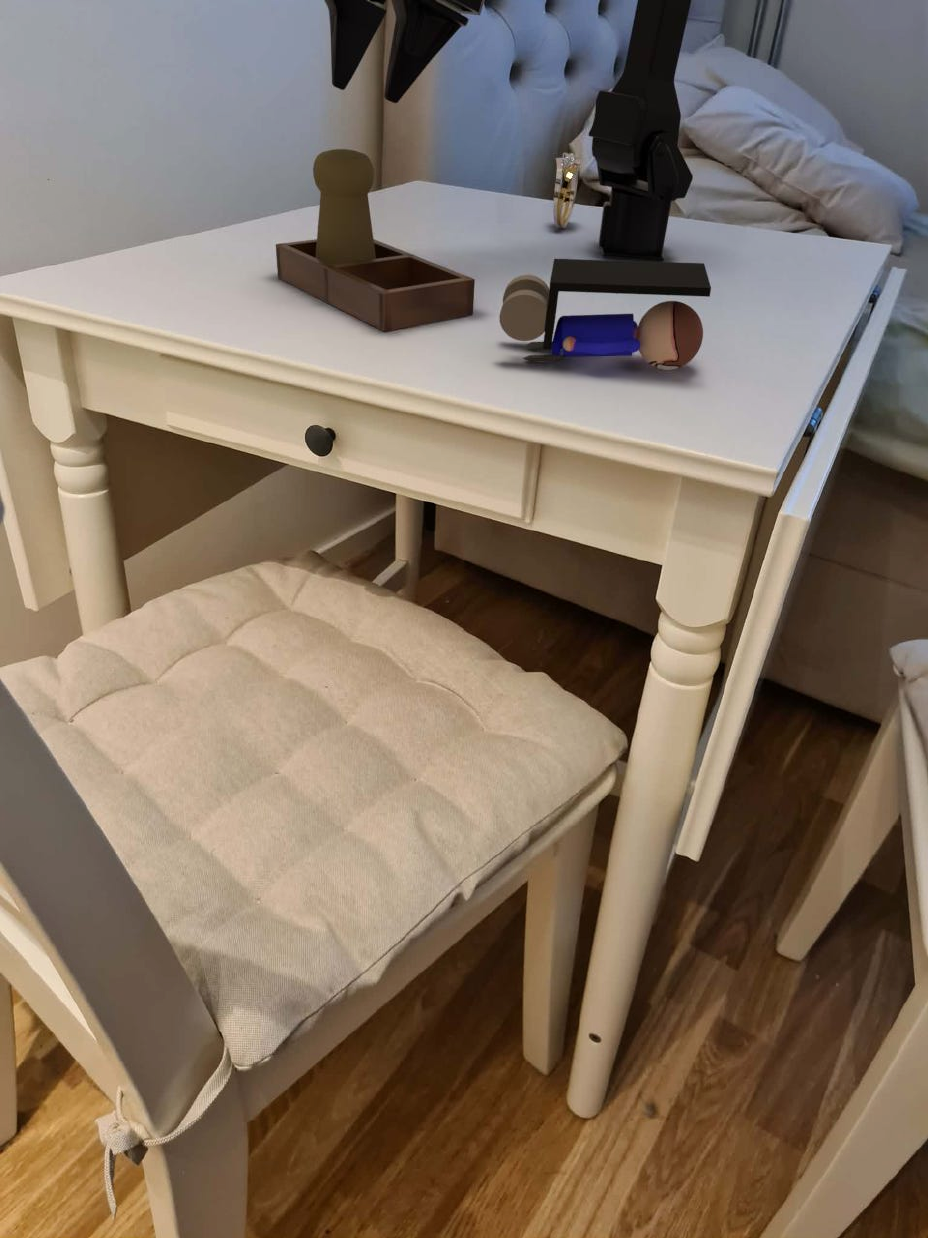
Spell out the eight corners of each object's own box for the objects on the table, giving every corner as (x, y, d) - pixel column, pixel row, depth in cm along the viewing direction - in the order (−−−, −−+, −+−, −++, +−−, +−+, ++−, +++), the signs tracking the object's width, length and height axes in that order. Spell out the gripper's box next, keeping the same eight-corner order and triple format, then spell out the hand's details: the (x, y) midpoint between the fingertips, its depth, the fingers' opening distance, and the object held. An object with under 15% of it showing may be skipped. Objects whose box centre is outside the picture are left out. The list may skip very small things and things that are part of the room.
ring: (565, 235, 102) (574, 158, 98) (539, 231, 103) (547, 154, 99) (582, 224, 108) (591, 150, 103) (557, 220, 109) (565, 147, 104)
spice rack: (361, 266, 87) (361, 233, 85) (473, 314, 76) (475, 278, 74) (277, 277, 82) (275, 243, 80) (383, 331, 71) (383, 293, 69)
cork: (392, 283, 82) (393, 151, 76) (351, 297, 78) (348, 158, 72) (341, 271, 85) (337, 142, 79) (299, 284, 81) (292, 149, 74)
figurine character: (500, 387, 66) (704, 382, 65) (495, 282, 62) (715, 274, 60) (506, 357, 72) (695, 352, 70) (502, 259, 68) (704, 251, 66)
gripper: (272, -184, 68) (228, 45, 74) (391, -211, 55) (327, 67, 61) (393, -109, 75) (344, 94, 81) (522, -118, 62) (453, 123, 68)
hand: (363, 94), depth 73 cm, fingers open, 9 cm apart
